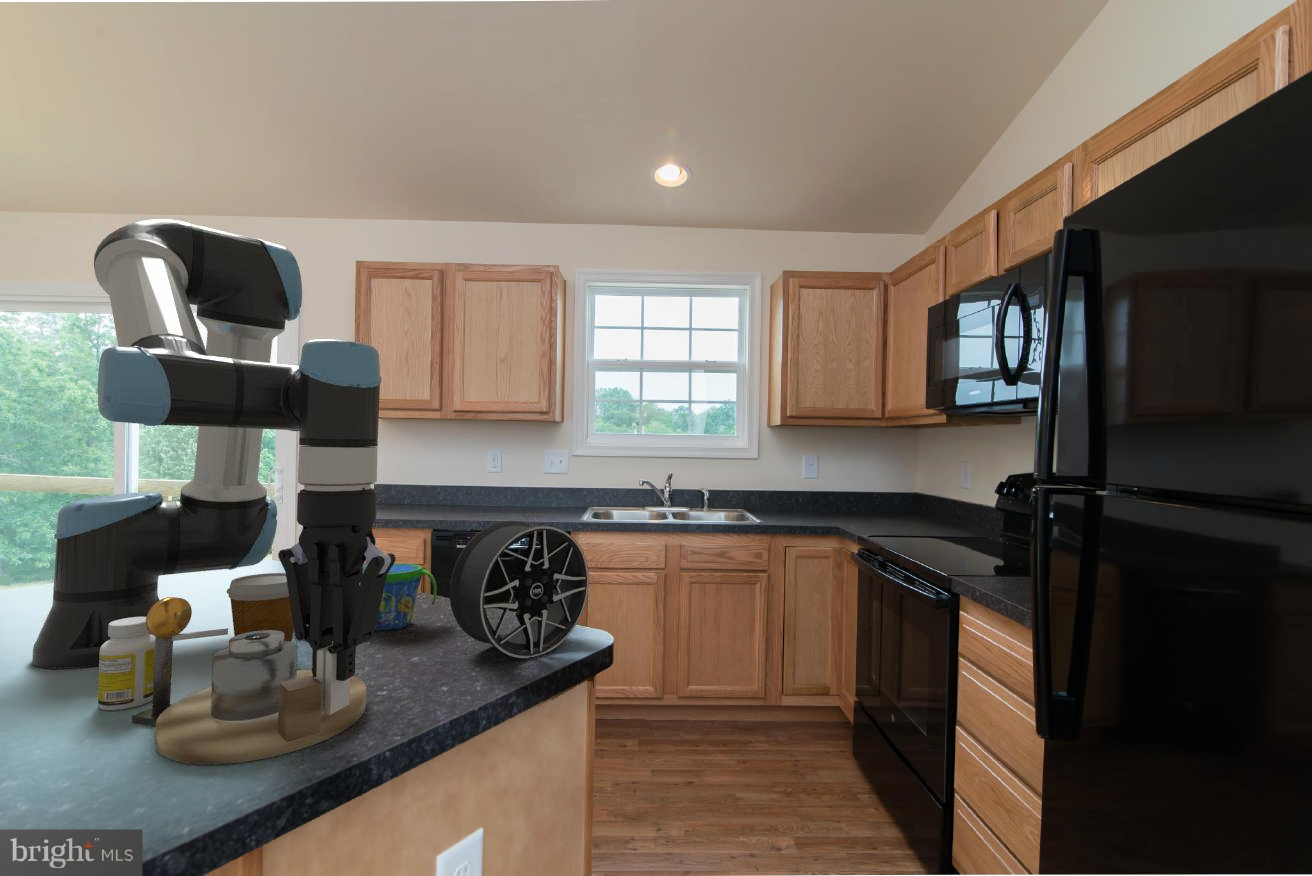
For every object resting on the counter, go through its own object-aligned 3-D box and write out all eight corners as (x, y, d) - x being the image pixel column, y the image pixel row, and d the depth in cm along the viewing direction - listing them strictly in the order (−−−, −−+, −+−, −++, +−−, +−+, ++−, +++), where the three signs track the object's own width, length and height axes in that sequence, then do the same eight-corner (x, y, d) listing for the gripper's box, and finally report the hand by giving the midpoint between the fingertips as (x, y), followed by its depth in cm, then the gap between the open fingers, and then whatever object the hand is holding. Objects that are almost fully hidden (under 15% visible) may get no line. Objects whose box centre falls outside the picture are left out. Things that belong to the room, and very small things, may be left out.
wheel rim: (477, 672, 86) (482, 530, 87) (446, 656, 93) (451, 524, 93) (587, 643, 101) (590, 521, 101) (553, 631, 107) (557, 516, 107)
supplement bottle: (145, 690, 77) (148, 612, 77) (164, 700, 74) (168, 619, 75) (89, 704, 73) (93, 622, 73) (107, 716, 70) (111, 629, 70)
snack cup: (439, 615, 114) (440, 561, 114) (432, 631, 104) (433, 571, 104) (348, 620, 111) (350, 564, 111) (331, 637, 100) (333, 575, 101)
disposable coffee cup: (283, 647, 95) (286, 569, 95) (313, 660, 89) (316, 578, 90) (212, 663, 87) (215, 579, 87) (240, 679, 82) (243, 589, 82)
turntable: (141, 717, 69) (144, 655, 69) (331, 674, 84) (333, 622, 84) (177, 796, 54) (181, 716, 54) (401, 726, 68) (403, 663, 69)
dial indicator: (127, 724, 68) (133, 600, 68) (188, 700, 74) (193, 587, 75) (169, 731, 66) (175, 605, 67) (227, 706, 73) (232, 591, 73)
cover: (203, 704, 68) (206, 635, 68) (284, 685, 74) (286, 622, 74) (219, 728, 63) (222, 652, 63) (305, 706, 68) (308, 637, 69)
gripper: (415, 487, 67) (409, 701, 67) (313, 482, 70) (308, 687, 70) (367, 492, 60) (361, 733, 60) (256, 486, 63) (250, 715, 63)
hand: (332, 708), depth 65 cm, fingers closed
